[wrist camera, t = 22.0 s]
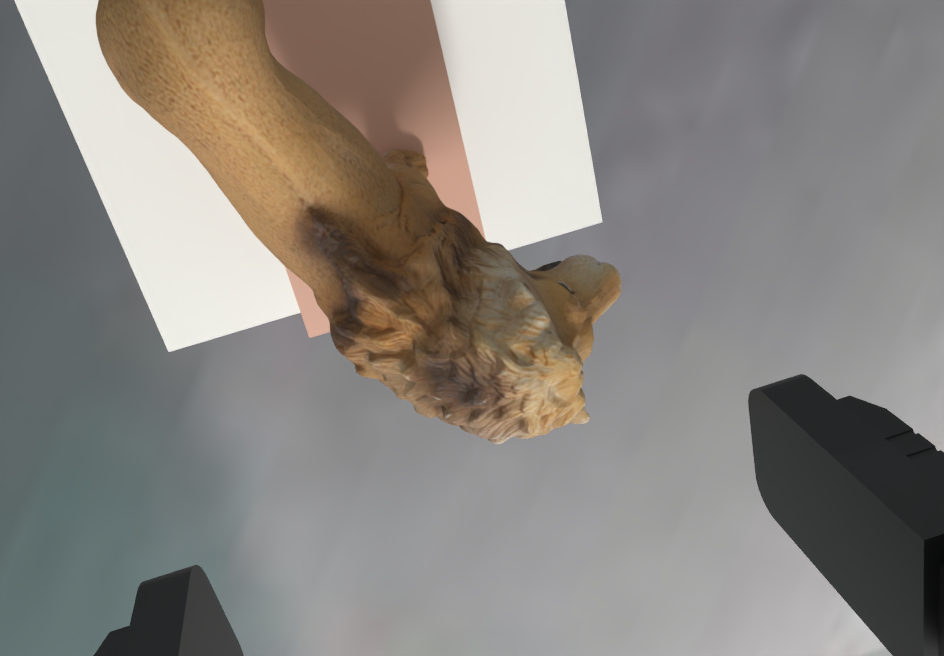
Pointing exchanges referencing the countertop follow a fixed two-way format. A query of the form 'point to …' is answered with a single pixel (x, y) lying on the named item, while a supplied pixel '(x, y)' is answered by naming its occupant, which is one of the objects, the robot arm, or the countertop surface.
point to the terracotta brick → (377, 90)
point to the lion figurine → (363, 226)
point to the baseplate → (219, 224)
